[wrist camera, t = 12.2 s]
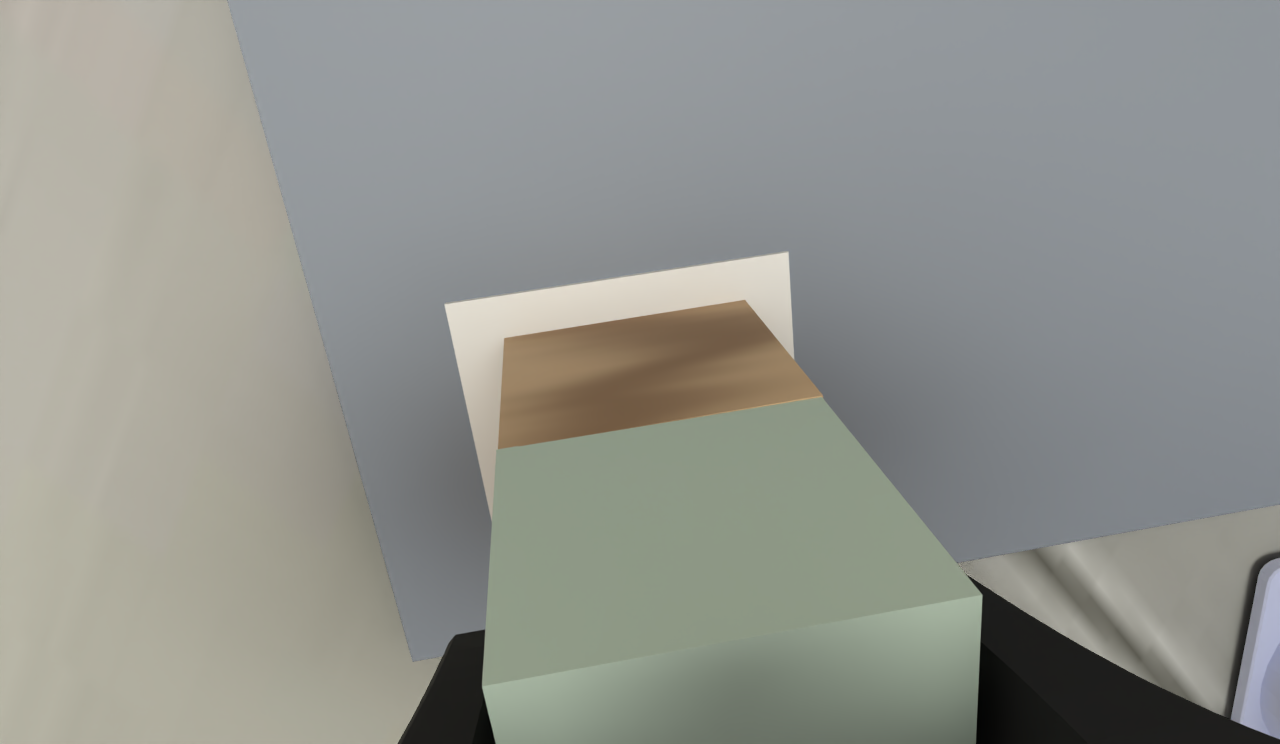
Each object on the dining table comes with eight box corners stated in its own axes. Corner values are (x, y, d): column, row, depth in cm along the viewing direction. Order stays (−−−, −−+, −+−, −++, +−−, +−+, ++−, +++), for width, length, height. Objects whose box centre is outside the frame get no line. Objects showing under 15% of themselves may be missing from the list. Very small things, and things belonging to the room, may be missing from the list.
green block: (821, 396, 13) (983, 594, 9) (831, 654, 15) (967, 929, 10) (496, 449, 13) (481, 687, 8) (549, 706, 15) (561, 1016, 10)
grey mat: (1429, -375, 15) (1468, -393, 15) (1265, 491, 22) (1287, 505, 22) (169, -244, 14) (152, -258, 13) (415, 644, 21) (412, 664, 20)
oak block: (744, 299, 18) (823, 395, 13) (761, 506, 20) (834, 653, 15) (504, 337, 17) (497, 449, 13) (544, 544, 19) (551, 706, 15)
